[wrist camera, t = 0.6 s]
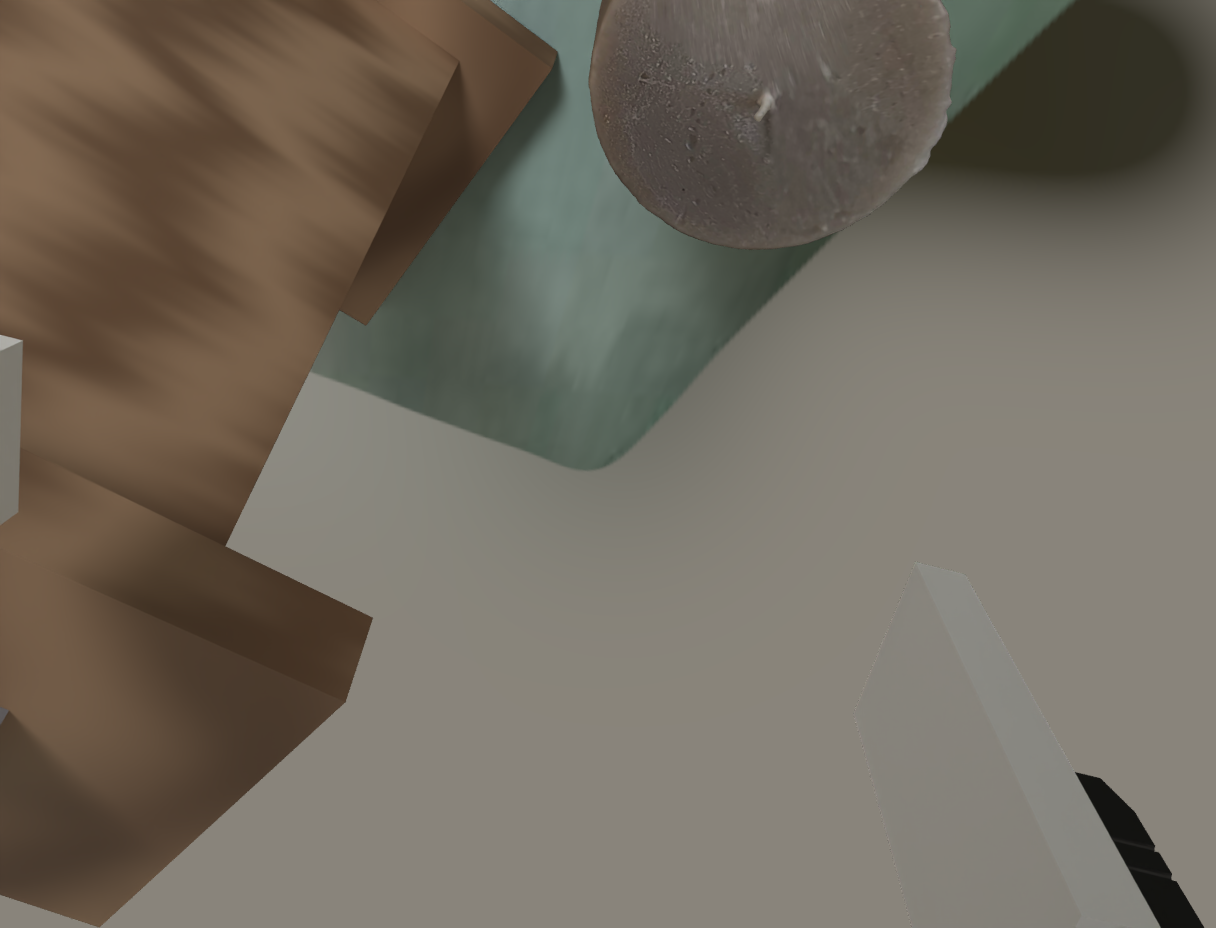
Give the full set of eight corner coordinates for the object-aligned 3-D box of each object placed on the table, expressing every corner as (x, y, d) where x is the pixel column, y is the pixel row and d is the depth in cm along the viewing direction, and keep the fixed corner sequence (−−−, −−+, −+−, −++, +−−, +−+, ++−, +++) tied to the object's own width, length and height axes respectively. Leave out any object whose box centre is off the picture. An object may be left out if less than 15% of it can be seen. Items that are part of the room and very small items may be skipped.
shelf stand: (3, 81, 44) (-694, 666, 23) (115, -283, 35) (-903, 143, 13) (374, 305, 51) (99, 927, 29) (557, 51, 41) (345, 702, 20)
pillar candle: (610, 41, 41) (566, 255, 30) (642, -255, 34) (599, -114, 23) (856, 76, 41) (899, 301, 30) (938, -213, 34) (1030, -53, 23)
